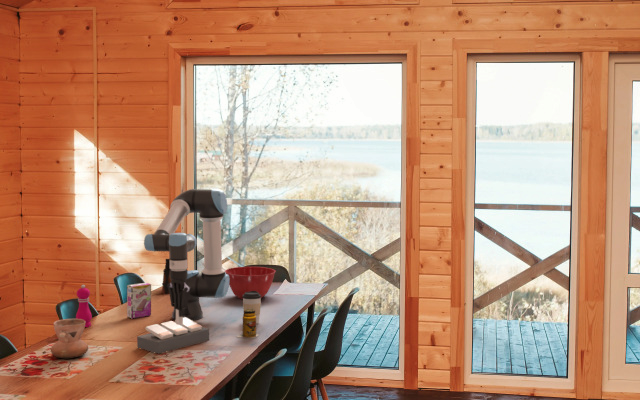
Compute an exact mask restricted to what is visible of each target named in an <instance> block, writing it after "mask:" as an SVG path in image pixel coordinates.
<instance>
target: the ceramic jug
mask: <svg viewBox="0 0 640 400" xmlns="http://www.w3.org/2000/svg"><path fill="white" fill-rule="evenodd" d="M85 323H86V322H85V321H84V320H82V319H76V318H65V319H59V320H56V321H54V322H53V328H54V332H55V335H56V337H57V339H58V340H57V341H56V342H54V343H53V344H52V346H51V347H50V352H51V354H52V355H53V356H54V357H56V358H59V359H75V358H78V357H81V356H83V355H85V354H86V353H87V352H88V351H89V345H88V344H87V342H85V341H84V340H83V339H81V337H82V335H83V333H84V330H85V328H84V327H85ZM74 357H75V358H74Z"/></svg>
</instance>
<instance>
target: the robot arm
mask: <svg viewBox="0 0 640 400" xmlns="http://www.w3.org/2000/svg"><path fill="white" fill-rule="evenodd" d="M169 207H170V209H169V210H168V212H167V213H166V215H165V217H163V220H162V221H161V223H160V224H159V225H158V226H157V229H156V230H155V232H154V233H148V234H146V235H145V237H144V240H143V244H144V245H143V246H144V248H145V250H146V251H148V252H154V253H155V252H169V255H168V256H169V257H168V259H169V260H170V269H171V270H170V279H172V280H171V283H170V284H167V287H168V289H169V294H168V295H169V299H170V304H171V307H173V311H172V313H171V319H172V320H173V321H175V320H176V324H177V325H179V324H183V318H185V317H186V318H188V319H190V320H192V321H197V320H200V319H203V318H204V315H203V309H202V306H201V304H200V298H206V299H208V298H211V299H212V298H213V299H222V298H225V297H226V295H228V291H229V288H230V285H229V281H230V278H229V275H227V274H226V272H225V270H226V269H225V268H224V267H223V259H222V258H223V257H222V256H223V255H222V254H223V253H222V252H223V251H222V225H221V222H222V221H221V220H222V219H223V218H224V214H226V213H227V210H228V199H227V197H226V193H225V191H223V190H222V189H217V188H216V189H215V188H191V189H188V190H185V191H183V192H181V193H180V194H178V195H177V196H176V197H175V198H174V199H173V200H172V201H171V204H170V206H169ZM189 214H198V215H199V218H200V219H201V220H202V232H203V233H202V235H203V237H202V238H203V260H204V261H203V262H204V265H203V266H204V267H203V269H202V270H201V273H200V271H199V270H196V269H193V270H192V269H191V270H188V252H191V251H193V250H194V249H195V248H196V247H197V245H198V239H197V238H196V236H195V235H193V234H192V233H185V232H176V231H177V229H178V228H179V226H180V224H181V223H182V221H183V220H184V218H185V217H188V215H189Z"/></svg>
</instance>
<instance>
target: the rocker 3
mask: <svg viewBox="0 0 640 400" xmlns="http://www.w3.org/2000/svg"><path fill="white" fill-rule="evenodd" d="M174 322H175V323H176V320H174ZM179 325H180V326H182V327H184V328H186V329H188V331H190V332H193V331H197V330H201V329H202V327H203V326H202V325H200V324H199V323H197V322H196V321H194V320H190V319H188V318H186V317H185V318H183V324H179Z"/></svg>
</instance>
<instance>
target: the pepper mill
mask: <svg viewBox="0 0 640 400" xmlns="http://www.w3.org/2000/svg"><path fill="white" fill-rule="evenodd" d="M80 287H81V288H78V289H77V291H76V296H77V298H78V299H77V302H78V308H77V312H76V314H75V319H82V320H84V321H85V322H86V323H85V327H87V328H90V327H91V326H92V322H91V320H92V318H93V316H92V312H91V309H90V307H89V302H90V296H91V291H90V289H89V288H86V285H85V284H82V285H81V286H80ZM89 326H90V327H89ZM85 327H84V329H86V328H85Z"/></svg>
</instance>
